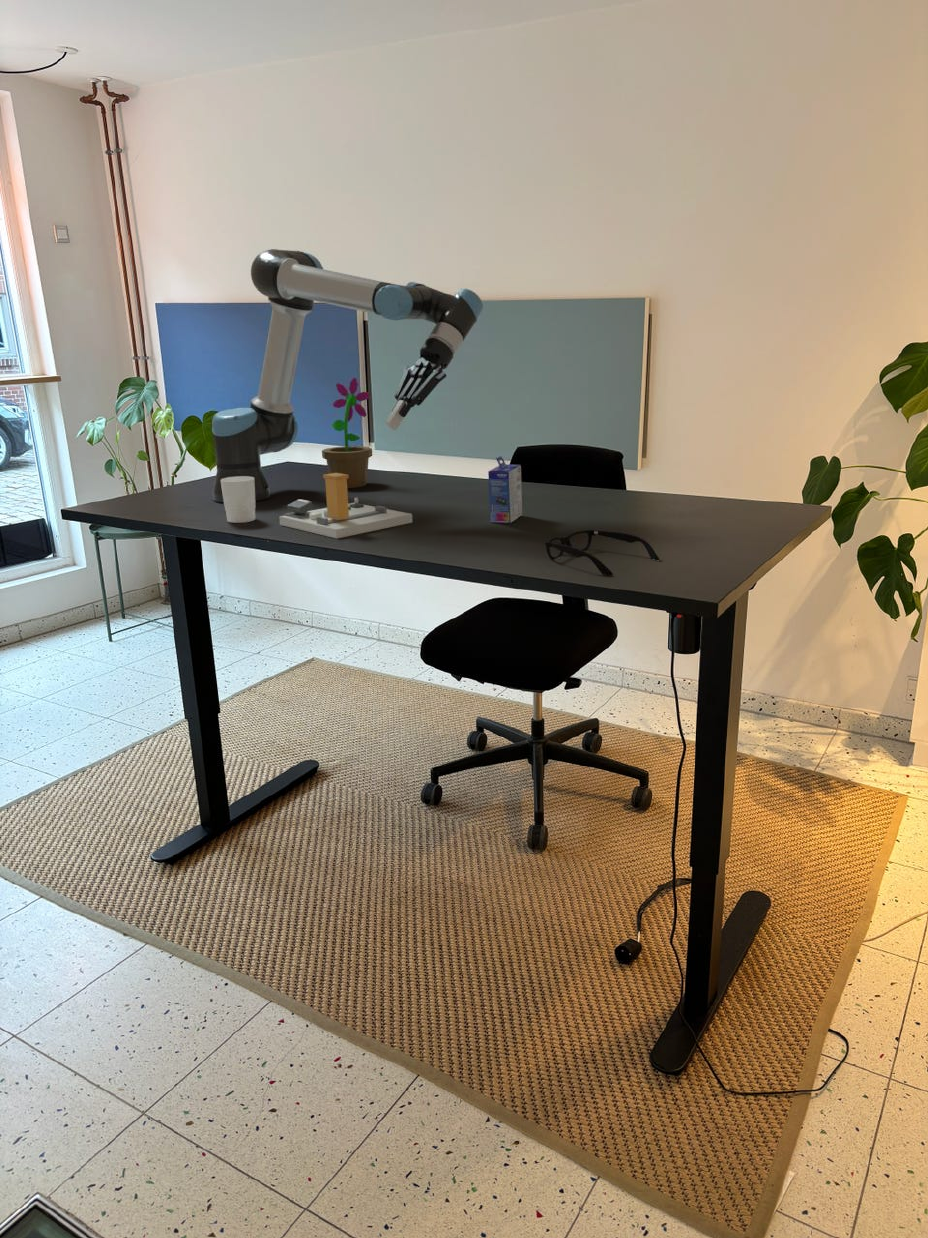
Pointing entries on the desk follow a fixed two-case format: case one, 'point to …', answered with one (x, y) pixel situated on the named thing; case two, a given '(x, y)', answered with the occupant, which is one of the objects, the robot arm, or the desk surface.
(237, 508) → the white cup
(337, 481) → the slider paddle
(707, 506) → the desk surface
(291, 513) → the console
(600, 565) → the glasses
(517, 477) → the ink cartridge box
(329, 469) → the flowerpot
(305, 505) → the rocker
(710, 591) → the desk surface
